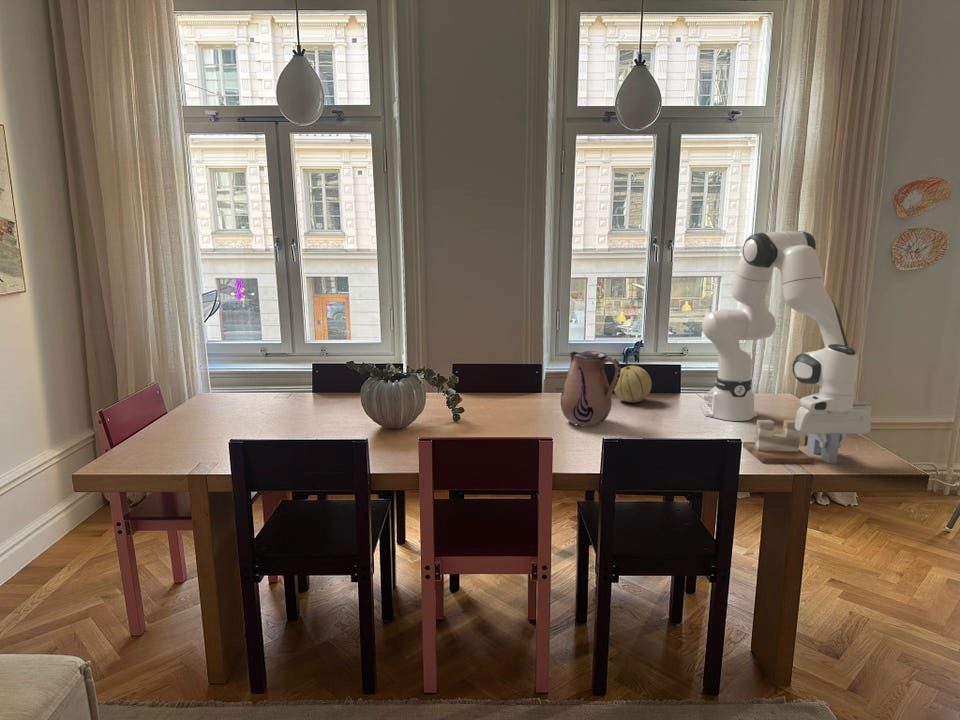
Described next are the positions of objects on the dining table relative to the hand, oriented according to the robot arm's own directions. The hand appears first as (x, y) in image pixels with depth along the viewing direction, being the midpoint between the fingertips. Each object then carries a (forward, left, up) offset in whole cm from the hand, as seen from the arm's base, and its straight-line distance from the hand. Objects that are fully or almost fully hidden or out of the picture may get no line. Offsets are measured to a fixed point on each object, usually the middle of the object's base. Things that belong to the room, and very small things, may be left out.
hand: (829, 447), depth 177 cm
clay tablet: (-21, -2, -5) cm, 22 cm away
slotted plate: (-4, 0, -4) cm, 6 cm away
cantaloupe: (-64, -43, -4) cm, 77 cm away
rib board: (-5, -13, -4) cm, 15 cm away
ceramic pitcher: (-35, -64, -4) cm, 73 cm away
